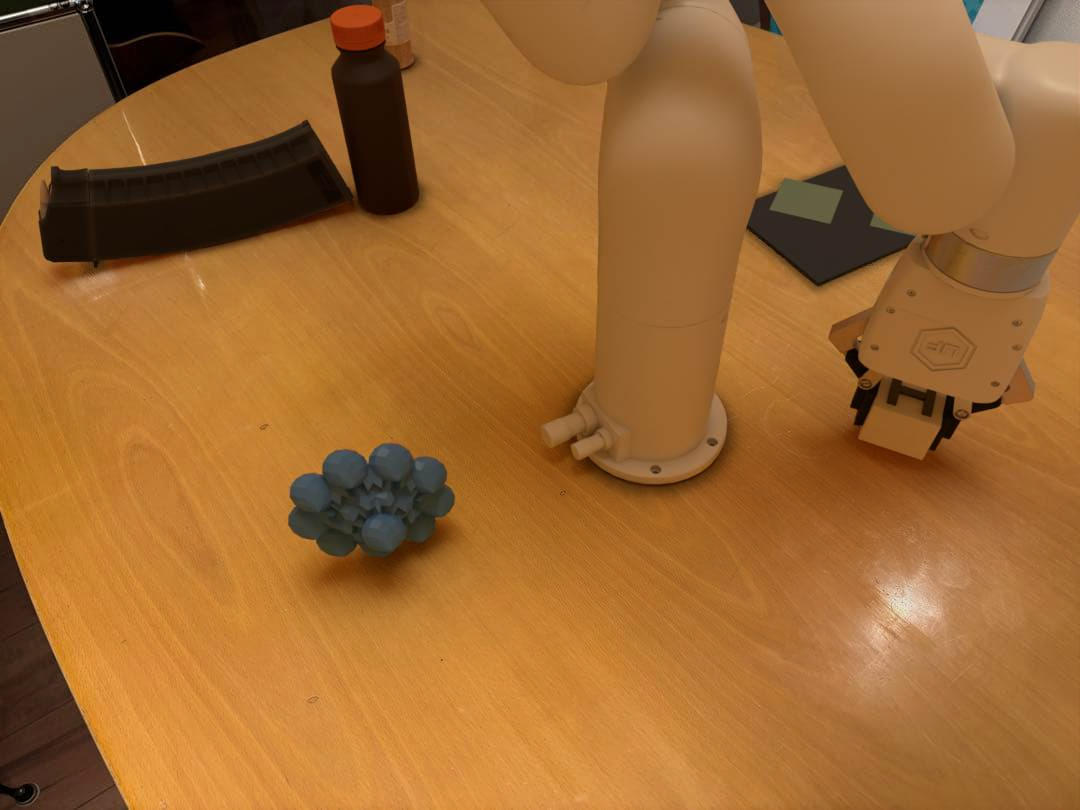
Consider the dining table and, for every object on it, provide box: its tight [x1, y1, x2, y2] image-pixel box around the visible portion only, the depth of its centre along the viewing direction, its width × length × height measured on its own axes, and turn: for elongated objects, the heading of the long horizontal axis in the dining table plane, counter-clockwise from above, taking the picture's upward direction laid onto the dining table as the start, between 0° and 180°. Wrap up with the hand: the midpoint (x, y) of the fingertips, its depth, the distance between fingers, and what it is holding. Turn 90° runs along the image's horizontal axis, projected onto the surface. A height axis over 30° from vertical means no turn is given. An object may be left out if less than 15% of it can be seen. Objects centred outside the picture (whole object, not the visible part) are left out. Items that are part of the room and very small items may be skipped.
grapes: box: [287, 442, 456, 558], centre depth 60 cm, size 12×7×12 cm, turn 112°
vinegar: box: [329, 4, 420, 215], centre depth 88 cm, size 7×7×20 cm
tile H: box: [858, 375, 947, 461], centre depth 68 cm, size 5×5×4 cm
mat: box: [746, 164, 918, 287], centre depth 92 cm, size 22×16×1 cm
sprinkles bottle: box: [371, 0, 415, 70], centre depth 111 cm, size 5×5×13 cm
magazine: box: [37, 119, 355, 269], centre depth 88 cm, size 17×3×30 cm
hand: (896, 424), depth 70 cm, fingers closed on tile H, 5 cm apart
